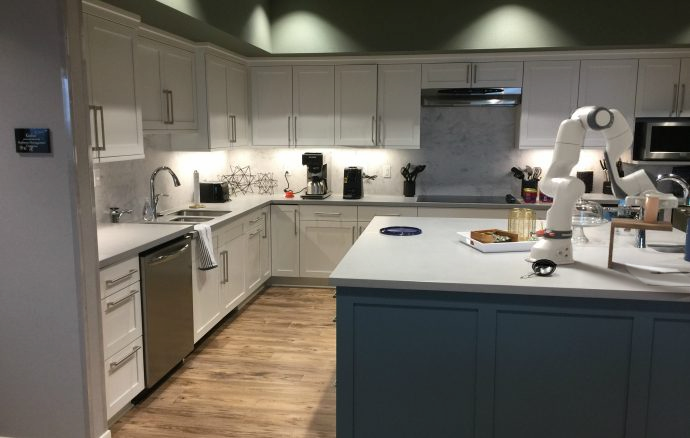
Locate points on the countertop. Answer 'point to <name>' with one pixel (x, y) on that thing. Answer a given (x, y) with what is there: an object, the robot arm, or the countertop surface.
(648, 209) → the jar
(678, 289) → the countertop surface
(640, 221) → the shelf
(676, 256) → the countertop surface
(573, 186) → the robot arm
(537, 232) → the cupcake
